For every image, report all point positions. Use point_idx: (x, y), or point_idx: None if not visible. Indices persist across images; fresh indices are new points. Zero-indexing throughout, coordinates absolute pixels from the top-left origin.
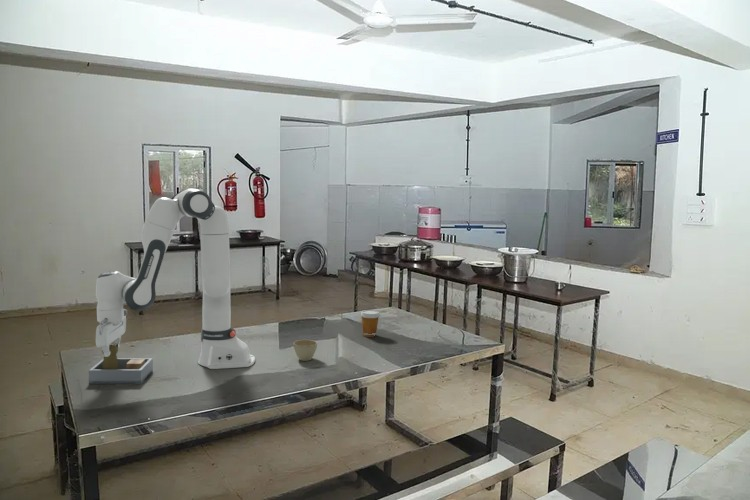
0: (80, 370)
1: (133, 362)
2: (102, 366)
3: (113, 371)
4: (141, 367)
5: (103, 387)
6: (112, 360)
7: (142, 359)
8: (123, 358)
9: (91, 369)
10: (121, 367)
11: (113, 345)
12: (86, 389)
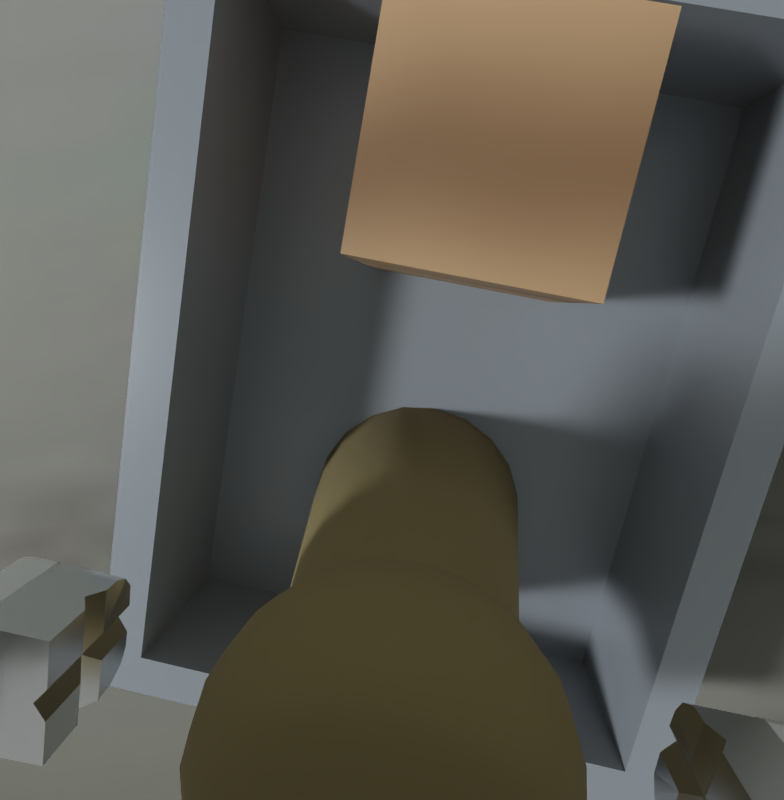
0: (148, 791)
1: (564, 174)
2: None
3: (757, 480)
4: (752, 2)
5: (766, 523)
6: (508, 570)
7: (393, 11)
8: (142, 408)
9: (626, 787)
10: (222, 409)
11: (343, 793)
12: (776, 678)
